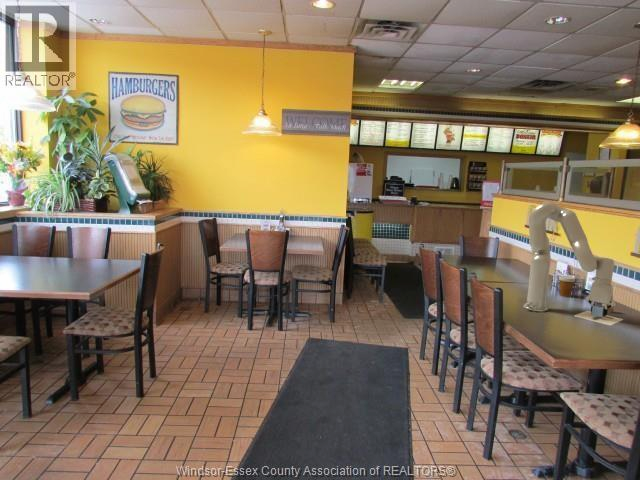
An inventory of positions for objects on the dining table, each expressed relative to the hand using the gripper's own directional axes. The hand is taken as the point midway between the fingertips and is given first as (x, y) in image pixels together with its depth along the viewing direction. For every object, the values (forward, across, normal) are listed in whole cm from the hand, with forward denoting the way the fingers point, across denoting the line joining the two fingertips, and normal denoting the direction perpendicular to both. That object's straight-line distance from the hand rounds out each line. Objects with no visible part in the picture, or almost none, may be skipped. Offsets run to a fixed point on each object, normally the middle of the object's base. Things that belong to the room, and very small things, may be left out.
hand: (598, 314), depth 241 cm
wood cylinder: (+2, -2, +18) cm, 18 cm away
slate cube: (0, 0, 0) cm, 0 cm away
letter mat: (+2, 0, 0) cm, 2 cm away
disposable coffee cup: (+3, -32, +34) cm, 47 cm away
